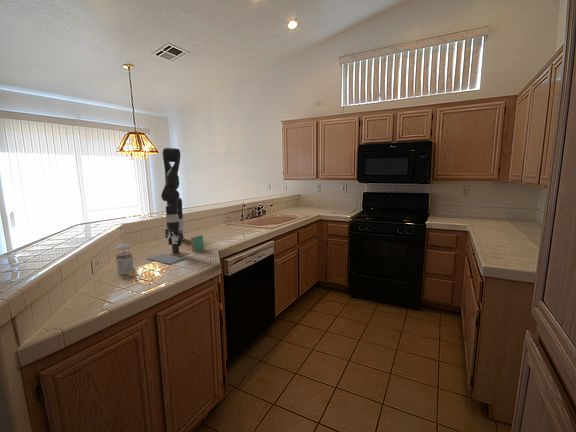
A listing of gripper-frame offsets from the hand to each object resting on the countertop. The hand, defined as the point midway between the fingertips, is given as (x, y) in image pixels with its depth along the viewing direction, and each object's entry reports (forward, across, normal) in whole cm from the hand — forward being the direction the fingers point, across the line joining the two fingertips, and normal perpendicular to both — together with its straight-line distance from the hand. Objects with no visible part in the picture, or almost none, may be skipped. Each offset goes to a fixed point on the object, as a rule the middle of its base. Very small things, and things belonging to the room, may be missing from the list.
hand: (174, 245), depth 183 cm
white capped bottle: (+6, -3, +35) cm, 36 cm away
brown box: (+6, -4, 0) cm, 7 cm away
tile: (+6, -8, -12) cm, 15 cm away
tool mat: (+6, -4, +11) cm, 13 cm away
